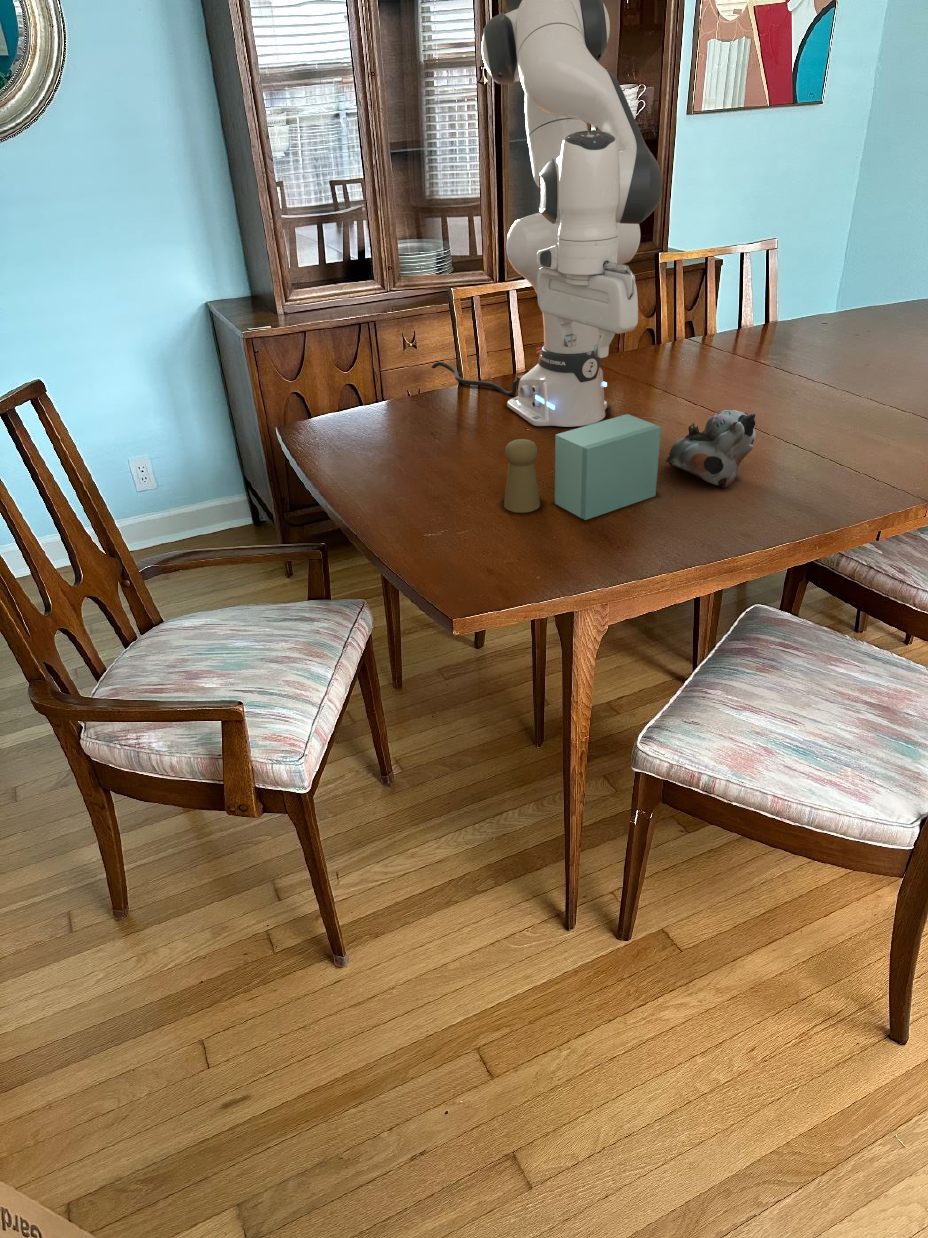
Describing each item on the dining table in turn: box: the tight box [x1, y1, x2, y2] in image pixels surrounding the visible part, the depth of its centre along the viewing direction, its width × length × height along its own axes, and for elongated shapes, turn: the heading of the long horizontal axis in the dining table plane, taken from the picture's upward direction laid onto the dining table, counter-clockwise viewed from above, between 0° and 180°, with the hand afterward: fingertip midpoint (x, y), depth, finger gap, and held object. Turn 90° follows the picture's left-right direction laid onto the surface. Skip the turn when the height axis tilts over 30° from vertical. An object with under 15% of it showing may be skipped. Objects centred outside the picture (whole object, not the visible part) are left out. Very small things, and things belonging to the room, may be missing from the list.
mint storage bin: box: [554, 413, 662, 521], centre depth 139 cm, size 8×15×12 cm, turn 122°
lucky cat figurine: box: [664, 409, 757, 489], centre depth 145 cm, size 15×12×14 cm
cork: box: [503, 438, 541, 514], centre depth 139 cm, size 6×6×11 cm
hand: (584, 351), depth 134 cm, fingers open, 6 cm apart
